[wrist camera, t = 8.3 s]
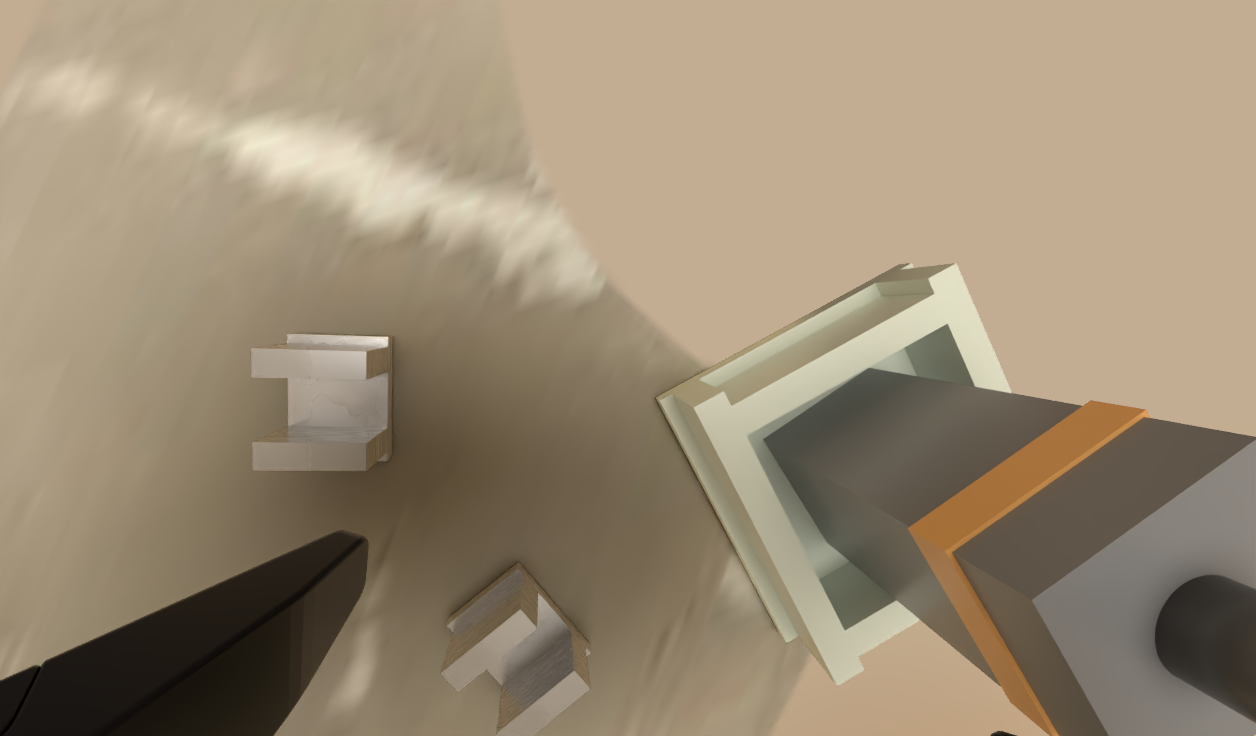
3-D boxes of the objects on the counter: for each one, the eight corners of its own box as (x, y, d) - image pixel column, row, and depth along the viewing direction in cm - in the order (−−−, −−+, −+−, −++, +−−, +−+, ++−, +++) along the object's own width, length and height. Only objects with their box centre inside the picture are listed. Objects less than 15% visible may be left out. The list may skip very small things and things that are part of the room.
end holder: (778, 631, 23) (823, 694, 19) (655, 397, 22) (678, 416, 18) (1003, 499, 24) (1089, 535, 20) (898, 264, 22) (970, 255, 19)
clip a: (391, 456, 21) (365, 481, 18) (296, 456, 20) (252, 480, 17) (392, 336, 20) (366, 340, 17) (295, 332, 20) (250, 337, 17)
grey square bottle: (825, 546, 22) (1332, 974, 8) (758, 438, 21) (1181, 694, 7) (932, 472, 22) (1607, 756, 8) (869, 363, 22) (1489, 466, 7)
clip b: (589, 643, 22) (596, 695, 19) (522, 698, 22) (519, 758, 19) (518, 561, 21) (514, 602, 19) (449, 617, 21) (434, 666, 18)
